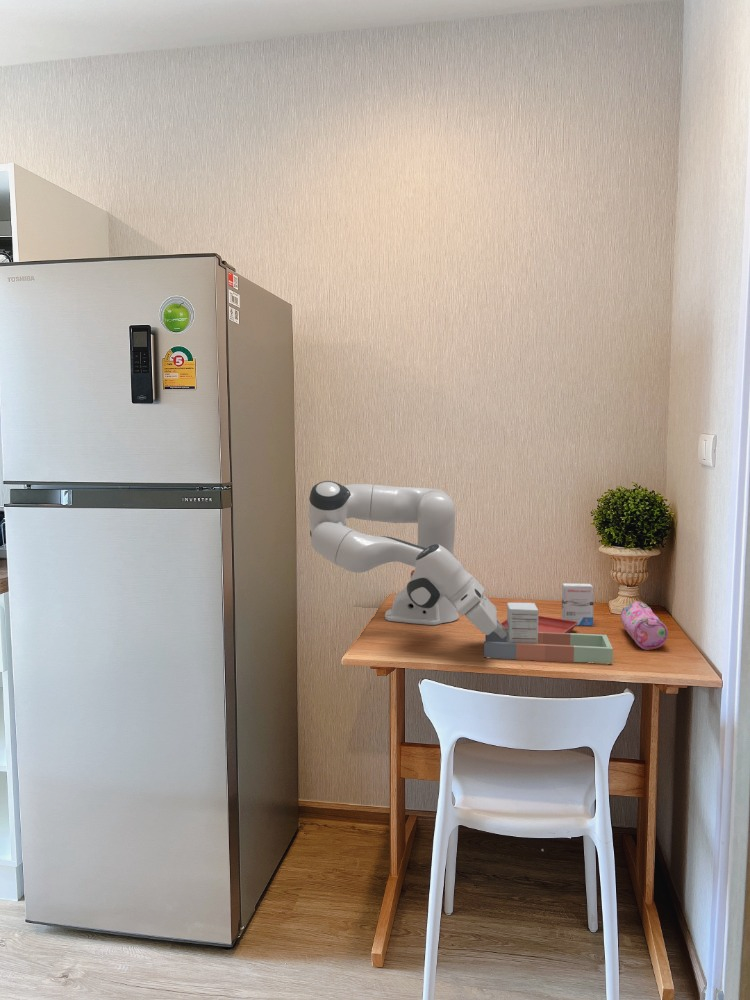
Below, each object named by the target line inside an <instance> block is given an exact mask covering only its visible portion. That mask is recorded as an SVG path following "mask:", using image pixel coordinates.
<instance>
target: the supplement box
mask: <svg viewBox="0 0 750 1000" xmlns="http://www.w3.org/2000/svg"><path fill="white" fill-rule="evenodd" d="M506 604H507V606H506V607H507V608H506V612H507V613H506V620H507V642H509V643H530V644H538V616H539V609H538V607H537V605H536V603H534V602H507V603H506Z"/></svg>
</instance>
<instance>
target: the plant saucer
mask: <svg viewBox="0 0 750 1000" xmlns="http://www.w3.org/2000/svg"><path fill="white" fill-rule="evenodd" d="M500 623H501V625H502V626H503V627H504V628H505V630H507V619H506V620H504V621H502V622H500ZM577 624H578V622H575V621H569V620H563V619H562V618H556V617H555V618H554V617H551V616H550V617H549V616H543V615H538V632H555V633H572V631H573V630H574V629H575V628H576V627H577V626H578V625H577Z"/></svg>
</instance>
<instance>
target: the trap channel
mask: <svg viewBox="0 0 750 1000" xmlns="http://www.w3.org/2000/svg"><path fill="white" fill-rule="evenodd" d="M506 631H507V630H506ZM484 635H485V634H484ZM607 635H608V634H600V633H599V634H594V633H575V632H573V633H572V632H570V633H555V632H538V644H530V643H509V642H507V635H506V636H505V637H504V638H501V637H500V636H499V635H498V634H497V633H495V632H494V631H493V632H491V633H490V634H489V635H485V638H484V639H485V641H483V658H484V657H490V658H489V659H491V658H503V659H502V660H511V659H518V660H517V661H530V660H534V661H533V662H535V661H537V662H550V661H557V662H556V663H559V662H558V661H561V662H560V663H569V662H591V663H592V662H593V663H612V664H613V658H614V657H613V655H614V653H613V652H614V650H613V649H614V648H613V647H612V644H611V642H610V639H609V638H608V636H607Z"/></svg>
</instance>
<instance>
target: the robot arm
mask: <svg viewBox="0 0 750 1000" xmlns="http://www.w3.org/2000/svg"><path fill="white" fill-rule="evenodd" d="M308 498H309V504H308V505H309V506H308V519H309V520H308V521H309V529H310V530H309V534H310V544H311V547H312V549H313V550H314V551H315V552H316V553H317V554H319V555H320V556H321V557H323V558H324V559H326V560H328V561H329V562H331V563H332V564H334V565H336V566H338V567H339V568H341V569H344V570H346V571H349V572H351V573H356V574H361V573H366V572H369V571H371V570H372V569H375V568H377V567H379V566H382V565H384V564H388V563H393V562H395V563H396V562H398V563H402V564H405V565H408V566H411V567H414V569H413V570H412V571H411V572H410V579H409V581H408V583H407V584H406V586H405V587H404V588H403V589H401V590H400V591H399V592H398V593H397V594H396V595H395V596H394V598H393V602H392V606H391V608H389V609H387V610H386V611H385V613H384V618H385V620H386V621H389V622H395V623H396V622H398V623H399V622H400V623H408V624H418V625H425V626H426V625H428V626H436V625H440V624H443V623H452V622H454V621H456V620H458V619H459V618H460V617H459V615H460V616H462V617H463V616H464V617H466V619H467V620H468V621H469V622H471V624H472V625H473V626H474V627H476V629H478V630H479V631H480V632H481V633H482V634H483V635H489V634H490V633H491V632H493V631H494V632H495V633H497V634H498V635H499V636H500V637H501V638H504V637H505V636H506V635H507V631H506V630H505V628H504V627H503V626H502V625H501V623H502V622H500V620H499V619H498V617H497V616H498V615H497V614H498V612H497V607H496V605H495V604H494V603H493V602H491V600H490V599H489V598H488V597H487V596H486V595H485V594H484V592H485V589H486V588H485V587H484V586H483V585H482V584H481V583H480V582H479V581H478V580H477V579H476V577H474V576H473V574H472V573H470V572H468V571H467V570H466V569H465V568H464V566H463V565H462V562H460V560H459V559H458V558H457V557H456V556H455V534H456V533H455V531H456V505H455V503H454V501H453V499H452V498H451V496H450V495H449V494H448V493H447V492H446V491H445V490H443V489H440V488H430V487H429V488H428V487H409V486H395V485H394V486H393V485H382V484H372V483H351V484H345V485H342V484H340V483H338V482H335V481H332V480H324V481H320V482H318V483H317V484H315V485H313V486H312V488H311V490H310V493H309V497H308ZM351 518H352V519H357V520H363V521H369V522H370V521H371V522H380V523H388V524H389V523H391V524H417V544H414V543H411V542H408V541H405V540H402V539H398V538H395V537H392V536H391V537H390V536H384V535H383V536H380V535H379V536H377V535H373V534H372V535H370V534H367V533H363V532H360V531H359V530H356V529H354V528H352V527H348V526H347V520H348V519H351ZM458 613H459V614H458Z"/></svg>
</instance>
